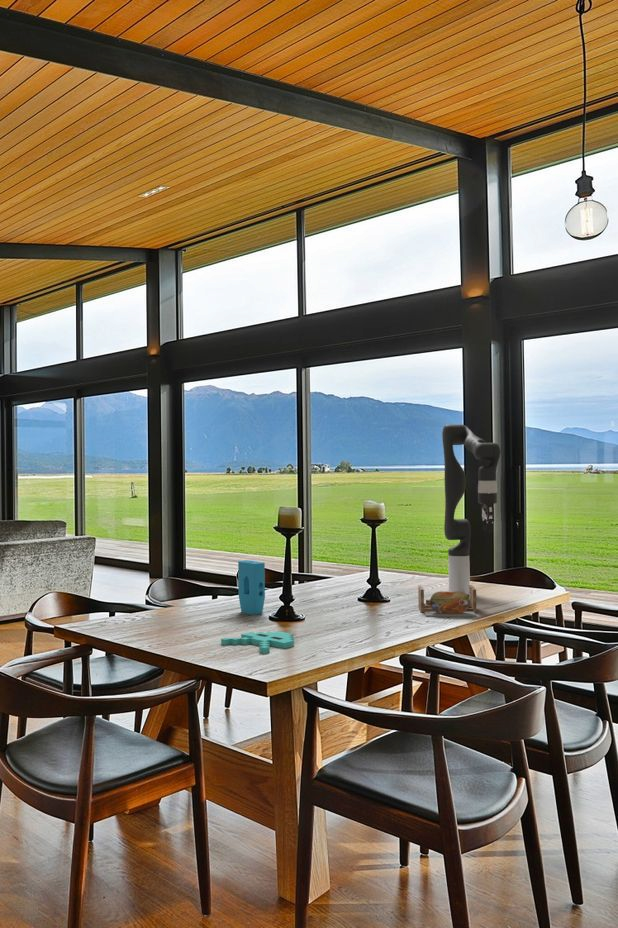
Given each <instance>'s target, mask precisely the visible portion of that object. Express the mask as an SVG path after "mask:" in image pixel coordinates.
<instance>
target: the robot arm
mask: <svg viewBox="0 0 618 928" xmlns="http://www.w3.org/2000/svg"><path fill="white" fill-rule="evenodd" d="M441 434H442V436H441V437H442V447H443V457H444V498H445V501H444V504H445V506H444V507H445V509H444V523H443V524H444V525H443V526H444V527H443V528H444V530H443V531H444V536H445V538H446V540H447V541H459V542H458V543H457V544H456V545H455V546H452V547H450V548H448V551H447V553H448V554H447V555H448V557H447V559H448V565H447V566H448V591H460V592H463V593H465V594H466V595H467V596H469V585H471V580H470V579H471V578H470V577H471V575H470V574H471V573H470V572H471V571H470V568H471V566H470V563H471V562H470V553H471V552H470V550H471V523H470V521H469V519H467V518H456V519H455V512H456V509H457V506H458V504H459V503H460V501H461V499H462V498H463V496H464V495H465V492H466V489H467V488H466V487H467V486H466V485H467V482H466V478H467V477H466V473H465V471H464V469H463V467H462V465H461V464H460V462H459V461H458V460H457V458H456V455H455V452H454V446H463V445H464V447H465V449H466V450H467V451H468V452H470V453H471V454H473V457H474V458H475V459H476V460H479V461H488V462H487V464H486V465H482V466H480V467H479V468H478V471H477V472H478V474H477V475H478V484H477V503H478V504H480V505H481V520H482V530H483V531H484V532H486V533H488V534H491V533H493V532H494V531H493V529H494V528H493V523H494V522H495V512H494V511H495V507H494V506H493V505H496V504H497V503H498V485H497V469H498V464H499V459H500V457H501V448H500V447H501V446H500V445H499V444H497V443H496V442H486V440H484V439H483V438H481V437H479V436H477V435H476V434H474V432H473V431H472V430H471V429H470V428H469V427H468V426H467V425H464V424H459V423H458V424H453V423H452V424H451V423H450V424H445V425H444V426H443V428H442V431H441Z"/></svg>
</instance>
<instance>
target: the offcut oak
mask: <svg viewBox="0 0 618 928" xmlns="http://www.w3.org/2000/svg"><path fill="white" fill-rule="evenodd" d="M430 599H431V598H429V599H425V604H426V605H430Z"/></svg>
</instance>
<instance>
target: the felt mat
mask: <svg viewBox="0 0 618 928" xmlns="http://www.w3.org/2000/svg"><path fill="white" fill-rule="evenodd" d="M424 615H425V617H427V618H436V617H437V618H440V617H441V618H445V617H446V618H451V617H452V618H453V617H454V618H460V617H462V618H465V617H466V618H467V617H469V618H472V617H473V618H477V614H476V613H474V612H464V613H460V614H439V613H436V612H424Z"/></svg>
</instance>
